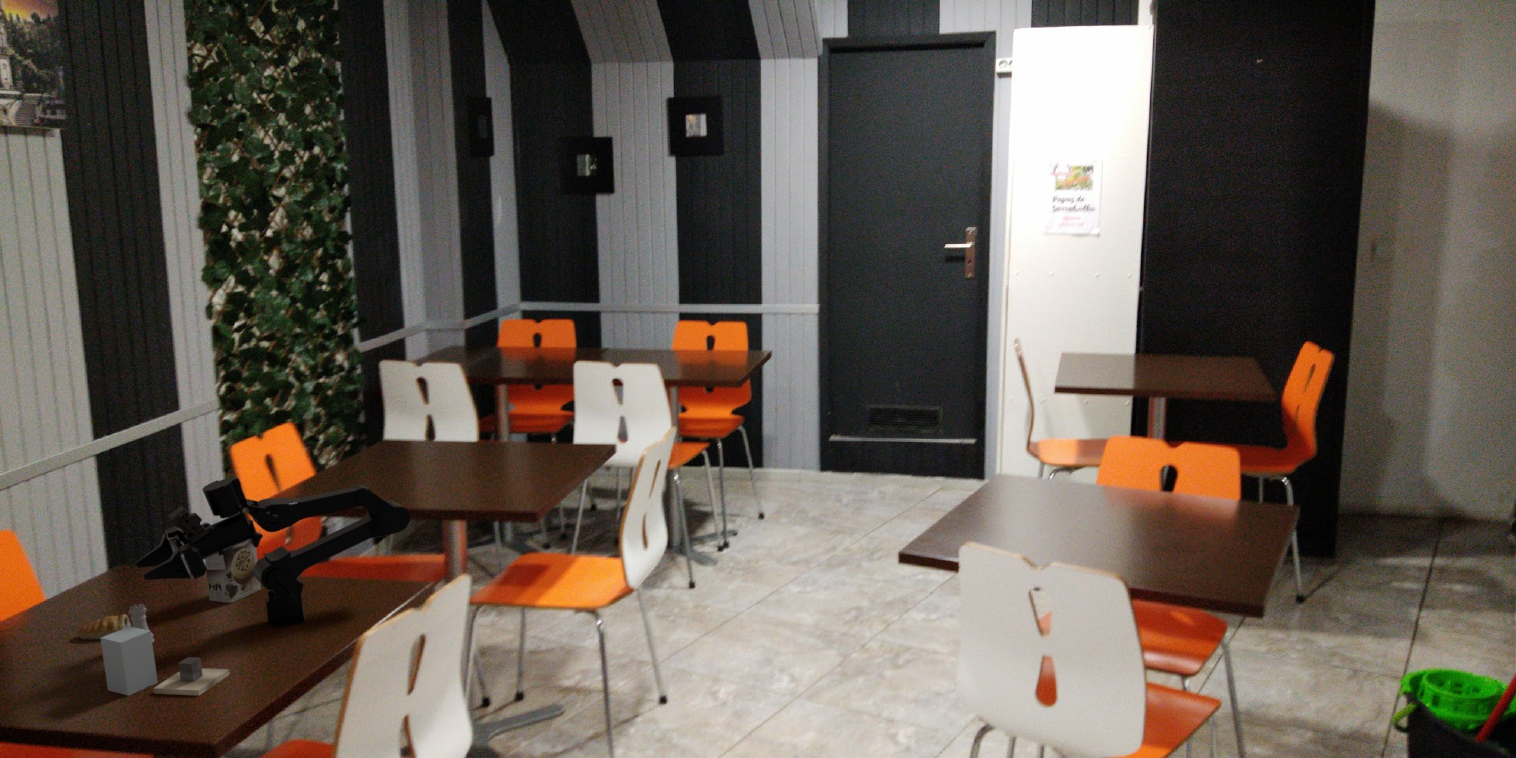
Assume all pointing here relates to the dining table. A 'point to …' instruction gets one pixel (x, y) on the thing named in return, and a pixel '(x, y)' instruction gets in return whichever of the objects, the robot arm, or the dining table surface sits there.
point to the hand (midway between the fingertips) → (140, 571)
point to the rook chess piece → (139, 617)
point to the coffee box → (232, 573)
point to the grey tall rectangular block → (129, 660)
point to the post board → (191, 686)
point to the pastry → (104, 627)
